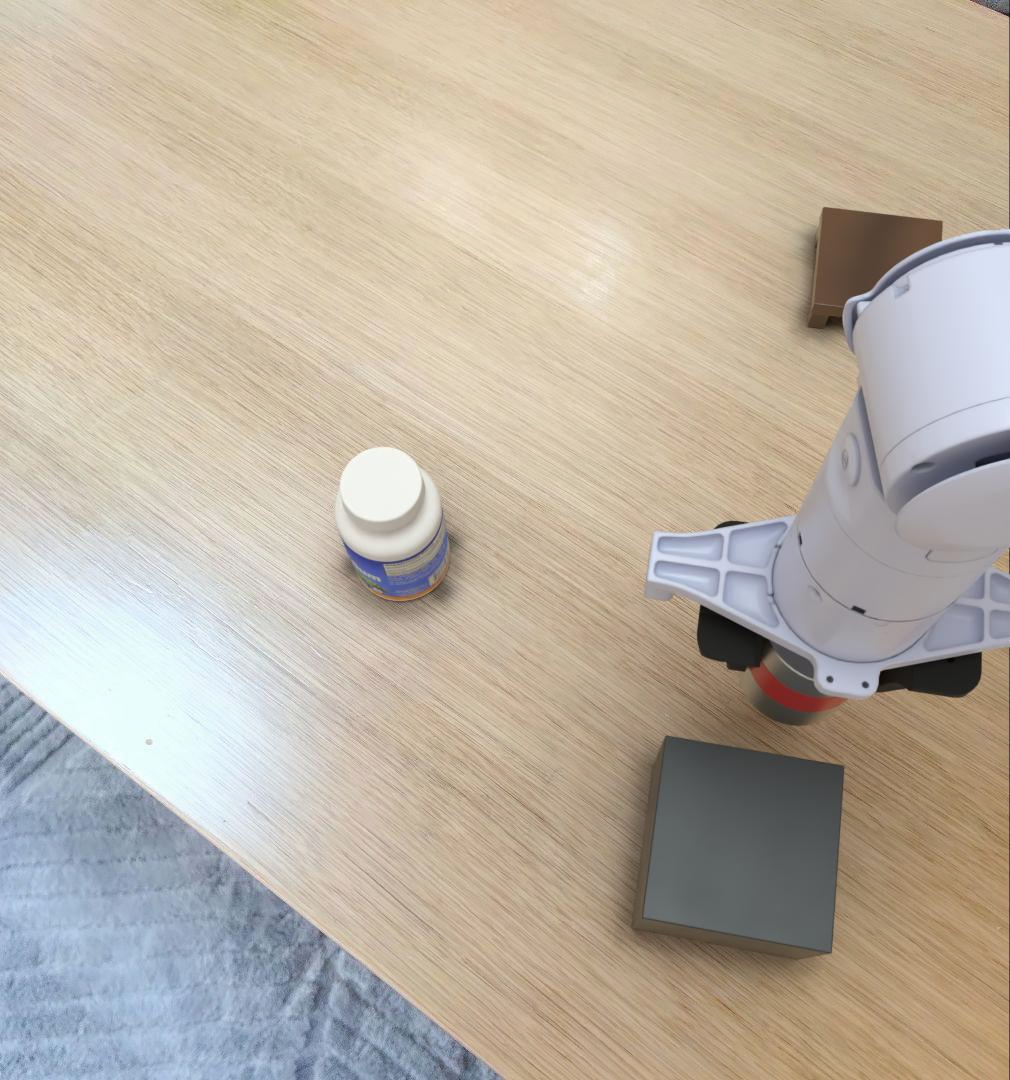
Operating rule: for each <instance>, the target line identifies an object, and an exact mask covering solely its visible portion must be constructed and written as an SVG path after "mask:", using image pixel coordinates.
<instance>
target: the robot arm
mask: <svg viewBox="0 0 1010 1080" xmlns="http://www.w3.org/2000/svg"><path fill="white" fill-rule="evenodd" d="M842 326H843V331H844V336H845V337H844V338H845V340H846V343H847V346H848V347H849V350H850V351H851V352H852V354H853V355H854V356H855V360H856V365H857V370H858V374H857V377H856V383H857V388H858V389H857V390H856V393H855V395H854V397H853V399H852V401H851V403H850V405H849V407H848V409H847V411H846V413H845V416H844V417H843V420H842V421H841V423H840V425H839V427H838V429H837V432H836V433H835V436H834V438H833V440H832V442H831V444H830V446H829V447H828V450H827V452H826V454H825V456H824V458H823V460H822V462H821V464H820V466H819V467H818V470H817V472H816V474H815V476H814V478H813V480H812V482H811V485H810V486H809V489H808V490H807V493H806V494H805V497H804V498H803V501H802V503H801V505H800V507H799V509H798V512H796V513H795V514H790V515H786V516H779V517H775V518H769V519H762V520H757V521H751V522H748V521H741V520H727V521H723V522H721V523H719V524H717V525H716V526H715V527H714V528H713V529H706V530H700V531H692V532H691V531H690V532H673V531H672V532H671V531H660V530H654V531H653V532H652V533H653V534H652V536H651V541H650V547H649V552H648V559H647V567H646V574H645V581H644V589H643V598H644V599H646V600H647V599H648V600H654V601H661V602H669V601H671V600H672V599H673V597H674V595H678V596H681V597H684V598H686V599H687V600H689V601H692V602H695V603H696V604H698V605H699V611H698V620H697V628H696V642H697V647H698V650H699V653H700V655H701V657H704V658H705V659H709V660H711V661H715V662H719V663H726V668H727V670H729V671H736V672H738V671H742V672H745V671H746V669H747V666H752V667H760V662H761V651H762V641H763V637H765V638H767V639H769V640H771V641H773V642H775V643H777V644H779V645H781V646H783V647H785V648H787V649H789V650H791V651H793V652H795V653H797V654H799V655H801V656H803V657H805V658H806V659H808V660H809V661H810V662H811V663H812V665H813V667H814V677H813V680H814V685H815V687H816V688H817V690H818V691H819V692H820V693H823V694H825V695H829V696H835V697H841V698H848V700H856V701H864V700H865V701H866V700H868V699H869V698H871V697H872V696H873V695H874V694H875V693H878V694H881V693H889V692H894V691H900V690H907V691H908V692H915V693H918V694H919V693H920V694H925V695H926V694H927V695H932V696H939V697H946V698H952V699H953V698H954V699H960V698H961V699H962V698H964V697H966V696H967V695H968V694H970V693H971V692H972V691H974V690H975V689H976V688H977V686H978V685H979V684H980V681H981V678H982V674H983V673H982V672H983V671H982V670H983V652H987V651H992V650H994V651H995V650H999V649H1006V648H1010V573H1007V572H1006V571H1004V570H1002V569H1000V568H997V567H996V566H993V565H994V563H995V562H997V561H998V559H1000V557H1002V556H1003V555H1004V554H1005V553H1006V552H1007V551H1008V550H1009V549H1010V228H999V229H995V230H994V229H993V230H992V229H985V230H978V231H973V232H967V233H964V234H963V233H962V234H959V235H956V236H953V237H950V238H947V239H942V241H941V242H938V243H935V244H933V245H931V246H928V247H926V248H924V249H922V250H920V251H918V252H916V253H914V254H912V255H911V256H909V257H907V258H906V259H904V260H902V261H901V262H900V263H898V264H897V265H895V266H894V267H893V268H892V269H890V270H889V271H888V272H887V273H886V274H885V275H884V276H883V277H882V278H881V279H880V280H879V281H878V283H877V284H876V285H875V287H874V288H873V289H872V290H871V291H869V292H867V293H865V294H862V295H859V296H855V297H852V298H850V299H849V300H848V301H847V302H846V304H845V306H844V310H843V317H842ZM827 681H828V682H827Z"/></svg>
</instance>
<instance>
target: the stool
mask: <svg viewBox="0 0 1010 1080" xmlns="http://www.w3.org/2000/svg"><path fill="white" fill-rule="evenodd" d="M943 229H944V221H943V220H941V219H940V220H939V219H930V218H923V217H914V216H905V215H896V214H887V213H881V212H872V211H863V210H855V209H847V208H838V207H830V206H823V207H822V209H821V213H820V216H819V220H818V227H817V229H816V233H815V240H814V247H815V248H816V250H815V251H816V252H815V262H814V274H813V283H812V285H813V286H812V293H811V294H812V296H811V303H810V304H811V305H810V308H809V310H808V312H807V313H808V314H807V322H806V323H807V324H806V325H807V327H809V328H816V329H825V327H826V324H827V321H828V319H829V317H835V318H843V310H844V306H845V304H846V302H847V301H848V300H849V299H850V298H852V297H855V296H859V295H862V294H865V293H867V292H869V291H871V290H872V289H873V288H874V287H875V285H876V284H877V283H878V281H879V280H880V279H881V278H882V277H883V276H884V275H885V274H886V273H887V272H888V271H889V270H890V269H892V268H893V267H894V266H895V265H897V264H898V263H900V262H901V261H902V260H904V259H906V258H907V257H909V256H911V255H912V254H914V253H916V252H918V251H920V250H922V249H924V248H926V247H928V246H931V245H933V244H935V243H938V242H941V241H943V231H944V230H943Z"/></svg>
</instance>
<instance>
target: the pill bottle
mask: <svg viewBox="0 0 1010 1080" xmlns="http://www.w3.org/2000/svg"><path fill="white" fill-rule="evenodd" d="M333 518H334V522H335V526H336V529H337V532H338V534H339V537H340V540H341V541H342V544H343V547H344V548H345V551H346V553H347V555H348V557H349V558H348V559H349V560H350V562H351V564H352V567H353V569H354V571H355V575H357V577H358V579H359V580H360V582H361V583H362V585H363V586H364V587H365V588H366V589H367V590H368V591H369V592H370V593H372V594H374V595H375V596H377V597H379V598H382V599H385V600H389V601H393V602H405V601H413V600H417V599H420V598H422V597H424V596H426V595H428V594H429V593H431V592H432V591H433V590H435V589H436V588H437V587H438V586H439V585H440V584H441V582H442V581H443V580H444V578H445V576H446V574H447V572H448V570H449V566H450V563H451V545H450V541H449V535H448V532H447V525H446V521H445V514H444V509H443V502H442V498H441V494H440V491H439V488H438V485H437V484H436V482H435V481H434V479H433V478H432V477H431V476H430V474H429V473H428V472H427V471H426V470H425V469H423V468H422V467H421V466H419V464H418V463H417V462H416V461H415V460H414V459H413V457H411V456H410V455H409V454H408V453H407V452H405V451H403V450H400V449H398V448H394V447H390V446H377V447H372V448H371V447H370V448H368V449H365V450H363V451H361V452H359V453H358V454H356V455H355V456H354V457H352V458H351V459H350V461H349V462H347V464H346V465H345V466H344V468H343V471H342V473H341V475H340V479H339V488H338V490H337V492H336V496H335V499H334V504H333Z"/></svg>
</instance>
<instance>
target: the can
mask: <svg viewBox="0 0 1010 1080" xmlns="http://www.w3.org/2000/svg"><path fill="white" fill-rule="evenodd" d="M737 676H738V681H739V685H740V687H741V689H742V692H743V694H744V696H745V697H746V698H747V700H748V701H749V702H750V704H751V705H752V706H753V707H754V708H755V709H756V710H757V711H758V712H759V713H760V714H762V715H764V716H765V717H766V718H768V719H770V720H772V721H775V722H777V723H780V724H783V725H786V726H787V725H788V726H795V727H805V726H811V725H815V724H818V723H822V722H824V721H825V720H827V719H828V718H830V717H832V716H833V715H834V714H835V713H836V712H838V710H840V708H841V707H842V706H843V705H844V704H845V703H846V702H847V701H848V700H849V699H848V698H841V697H835V696H829V695H825V694H823V693H820V692H819V691H818V690H817V688H816V687H815V685H814V680H813V677H814V667H813V665H812V663H811V662H810V661H809V660H808V659H806V658H805V657H803V656H801V655H799V654H797V653H795V652H793V651H791V650H789V649H787V648H785V647H783V646H781V645H779V644H777V643H775V642H773V641H771V640H769V639H767V638H765V637H763V641H762V651H761V662H760V667H752V666H747V669H746V671H745V672H742V671H737ZM827 682H828V681H827Z"/></svg>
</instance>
